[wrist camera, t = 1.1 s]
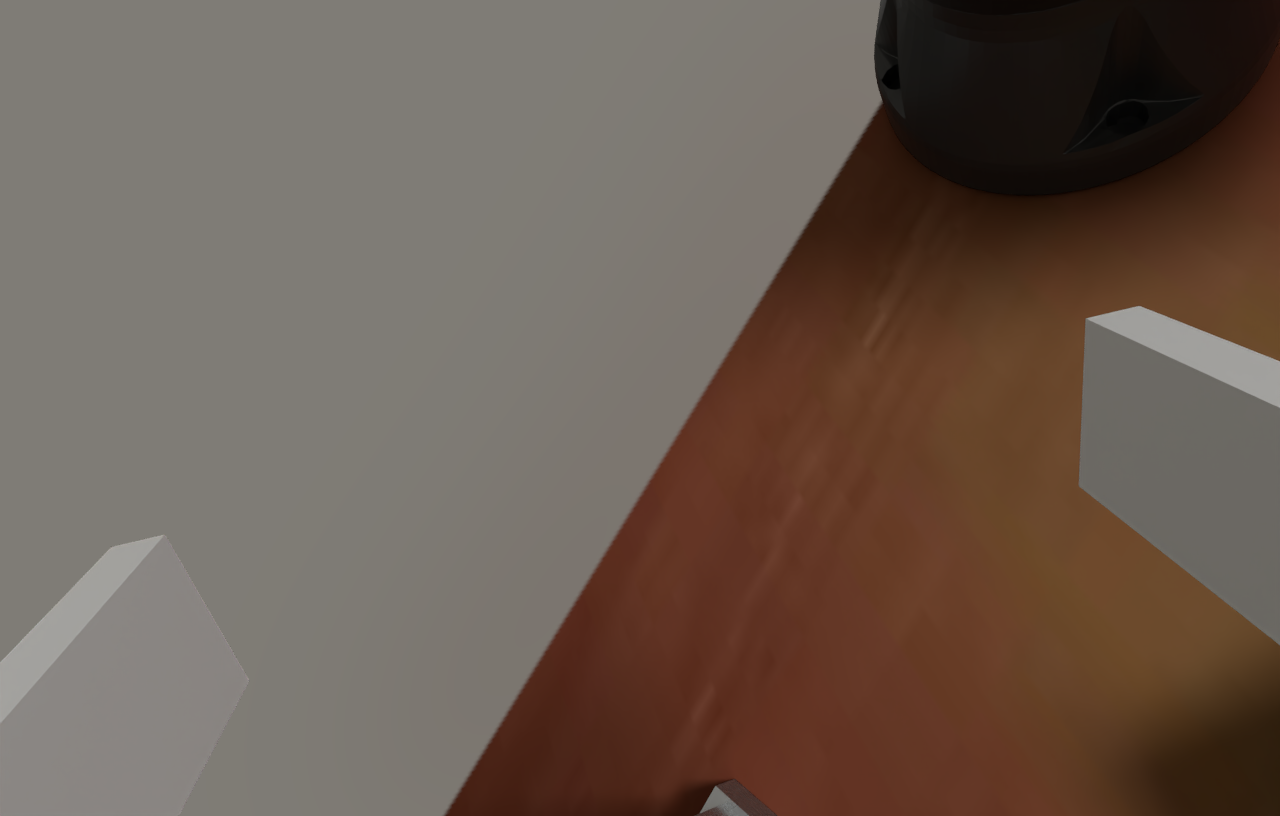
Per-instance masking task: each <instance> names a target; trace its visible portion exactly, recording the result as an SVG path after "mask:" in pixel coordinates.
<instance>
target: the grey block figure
mask: <svg viewBox="0 0 1280 816" xmlns="http://www.w3.org/2000/svg"><path fill="white" fill-rule="evenodd" d="M695 816H777V815H776V814H775V813H773V812H772V811H771V810H770V809H769V808H768V807H767V806H765V805H764V804H763V803H762V802H761V801H760V800H758V799H757V798H756V797H755V796H754V795H753V794H752V793H750V792H749V791H748V790H747V789H746V788H745V787H744V786H742V785H741V784H740V783H739V782H738V781H737V780H736V779H733V780H730V781H727V782H725V783H722V784H719V785H716V786H715V788H714V789H713V791H712V793H711V795H710V796H709V798H708V800H707V801H706V803H705V805H704V807H703V808H702V810H701V812H700V814H697V815H695Z"/></svg>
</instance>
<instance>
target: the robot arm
mask: <svg viewBox="0 0 1280 816" xmlns="http://www.w3.org/2000/svg"><path fill="white" fill-rule="evenodd" d="M1279 38H1280V0H881V2H880V10H879V17H878V24H877V31H876V39H875V52H874V53H875V54H874V60H875V72H876V78H877V84H878V88H879V91H880V94H881V97H882V100H883V103H884V106H885V109H886V112H887V115H888V118H889V121H890V123H891V126H892V128H893V130H894V132H895V133H896V135H897V137H898V138H899V140H900V141H901V143H902V144H903V145H904V146H905V148H906V149H907V150H908V151H909V152H910V153H911V154H912V155H913V156H914V157H915V158H916V159H917V160H918V161H920V162H921V163H922V164H923V165H925V166H926V167H927V168H929V169H930V170H932V171H934V172H935V173H937V174H939V175H940V176H942V177H945V178H947V179H949V180H951V181H953V182H956V183H959V184H961V185H964V186H968V187H971V188H974V189H979V190H983V191H988V192H994V193H1001V194H1012V195H1045V194H1055V193H1064V192H1070V191H1077V190H1081V189H1086V188H1091V187H1095V186H1099V185H1102V184H1106V183H1109V182H1112V181H1115V180H1118V179H1121V178H1124V177H1127V176H1130V175H1132V174H1135V173H1137V172H1140V171H1142V170H1144V169H1147V168H1149V167H1151V166H1153V165H1155V164H1157V163H1159V162H1161V161H1163V160H1165V159H1167V158H1169V157H1171V156H1172V155H1174V154H1176V153H1177V152H1179V151H1181V150H1182V149H1184V148H1186V147H1187V146H1189V145H1190V144H1192V143H1193V142H1195V141H1196V140H1198V139H1199V138H1200V137H1202V136H1203V135H1204V134H1206V133H1207V132H1208V131H1210V130H1211V129H1212V128H1213V127H1215V126H1216V125H1217V124H1218V123H1219V122H1220V121H1222V120H1223V119H1224V118H1225V117H1226V116H1227V115H1228V114H1229V113H1230V112H1231V111H1232V110H1233V109H1234V108H1235V107H1236V106H1237V105H1238V104H1239V103H1240V102H1241V101H1242V99H1243V98H1244V97H1245V96H1246V95H1247V94H1248V93H1249V91H1250V90H1251V89H1252V87H1253V86H1254V85H1255V83H1256V82H1257V81H1258V79H1259V78H1260V76H1261V74H1262V73H1263V71H1264V70H1265V68H1266V67H1267V65H1268V63H1269V61H1270V59H1271V57H1272V55H1273V53H1274V51H1275V48H1276V46H1277V43H1278V41H1279ZM1079 487H1081V488H1082V489H1083V490H1084V491H1086V492H1087V493H1088V494H1089V495H1091V496H1092V497H1093V498H1095V499H1096V500H1097V501H1098V502H1100V503H1101V504H1102V505H1103V506H1105V507H1106V508H1107V509H1108V510H1110V511H1111V512H1112V513H1113V514H1115V515H1116V516H1117V517H1119V518H1120V519H1121V520H1122V521H1124V522H1125V523H1126V524H1127V525H1129V526H1130V527H1131V528H1132V529H1134V530H1135V531H1136V532H1137V533H1139V534H1140V535H1141V536H1143V537H1144V538H1145V539H1146V540H1148V541H1149V542H1150V543H1151V544H1153V545H1154V546H1155V547H1156V548H1158V549H1159V550H1160V551H1162V552H1163V553H1164V554H1165V555H1167V556H1168V557H1169V558H1170V559H1172V560H1173V561H1174V562H1175V563H1177V564H1178V565H1179V566H1180V567H1182V568H1183V569H1184V570H1186V571H1187V572H1188V573H1189V574H1191V575H1192V576H1193V577H1194V578H1196V579H1197V580H1198V581H1199V582H1201V583H1202V584H1203V585H1204V586H1206V587H1207V588H1208V589H1210V590H1211V591H1212V592H1213V593H1215V594H1216V595H1217V596H1218V597H1220V598H1221V599H1222V600H1223V601H1225V602H1226V603H1227V604H1229V605H1230V606H1231V607H1232V608H1234V609H1235V610H1236V611H1237V612H1239V613H1240V614H1241V615H1242V616H1244V617H1245V618H1246V619H1247V620H1249V621H1250V622H1251V623H1253V624H1254V625H1255V626H1256V627H1258V628H1259V629H1260V630H1261V631H1263V632H1264V633H1265V634H1266V635H1268V636H1269V637H1270V638H1271V639H1273V640H1274V641H1275V642H1277V643H1278V644H1279V645H1280V361H1277V360H1275V359H1272V358H1270V357H1267V356H1265V355H1262V354H1260V353H1257V352H1255V351H1252V350H1250V349H1247V348H1244V347H1242V346H1239V345H1237V344H1234V343H1232V342H1229V341H1227V340H1224V339H1222V338H1219V337H1217V336H1214V335H1212V334H1209V333H1207V332H1204V331H1201V330H1199V329H1196V328H1194V327H1191V326H1189V325H1186V324H1184V323H1181V322H1179V321H1176V320H1174V319H1171V318H1169V317H1166V316H1164V315H1161V314H1159V313H1156V312H1153V311H1151V310H1148V309H1146V308H1143V307H1141V306H1137V307H1133V308H1129V309H1124V310H1120V311H1116V312H1112V313H1107V314H1103V315H1099V316H1094V317H1090V318H1086V324H1085V348H1084V372H1083V396H1082V421H1081V445H1080V469H1079ZM248 682H249V679H248V677H247V676H246V674H245V672H244V670H243V669H242V667H241V665H240V663H239V662H238V660H237V658H236V657H235V655H234V653H233V651H232V650H231V648H230V646H229V644H228V643H227V641H226V639H225V637H224V636H223V634H222V632H221V630H220V629H219V627H218V625H217V623H216V622H215V620H214V618H213V617H212V615H211V613H210V612H209V610H208V608H207V606H206V605H205V603H204V601H203V599H202V598H201V596H200V594H199V592H198V591H197V589H196V587H195V585H194V584H193V582H192V580H191V578H190V577H189V575H188V573H187V571H186V570H185V568H184V566H183V565H182V563H181V561H180V559H179V558H178V556H177V554H176V552H175V551H174V549H173V547H172V545H171V544H170V542H169V540H168V538H167V537H166V535H160V536H156V537H152V538H148V539H143V540H139V541H134V542H130V543H126V544H122V545H117V546H113V547H111V548H110V549H109V550H108V551H107V552H106V553H105V554H104V555H103V556H102V557H101V558H100V559H99V560H98V561H97V562H96V563H95V565H93V567H92V568H91V569H90V570H89V571H88V572H87V573H86V574H85V575H84V576H83V577H82V578H81V579H80V580H79V581H78V582H77V583H76V584H75V585H74V586H73V587H72V588H71V590H69V591H68V593H67V594H66V595H65V596H64V597H63V598H62V599H61V600H60V601H59V602H58V603H57V604H56V605H55V606H54V607H53V608H52V609H51V610H50V611H49V612H48V613H47V615H46V616H44V618H43V619H42V620H41V621H40V622H39V623H38V624H37V625H36V626H35V627H34V628H33V629H32V630H31V631H30V632H29V633H28V634H27V635H26V636H25V637H24V638H23V640H22V641H21V642H19V644H18V645H17V646H16V647H15V648H14V649H13V650H12V651H11V652H10V653H9V654H8V655H7V656H6V657H5V658H4V659H3V660H2V661H1V662H0V816H179V815H180V813H181V811H182V809H183V807H184V805H185V803H186V801H187V799H188V797H189V796H190V794H191V792H192V789H193V788H194V786H195V784H196V782H197V780H198V778H199V776H200V774H201V772H202V771H203V768H204V766H205V765H206V763H207V761H208V759H209V757H210V755H211V753H212V751H213V749H214V747H215V745H216V744H217V742H218V740H219V738H220V736H221V734H222V732H223V730H224V728H225V726H226V724H227V722H228V721H229V718H230V717H231V715H232V713H233V711H234V709H235V707H236V705H237V703H238V701H239V699H240V697H241V695H242V693H243V692H244V690H245V688H246V686H247V684H248Z"/></svg>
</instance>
